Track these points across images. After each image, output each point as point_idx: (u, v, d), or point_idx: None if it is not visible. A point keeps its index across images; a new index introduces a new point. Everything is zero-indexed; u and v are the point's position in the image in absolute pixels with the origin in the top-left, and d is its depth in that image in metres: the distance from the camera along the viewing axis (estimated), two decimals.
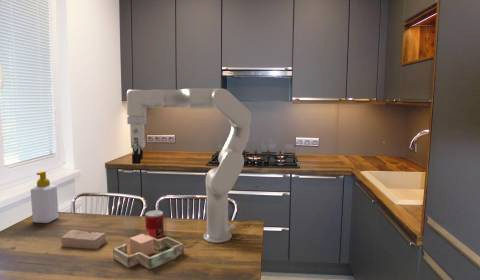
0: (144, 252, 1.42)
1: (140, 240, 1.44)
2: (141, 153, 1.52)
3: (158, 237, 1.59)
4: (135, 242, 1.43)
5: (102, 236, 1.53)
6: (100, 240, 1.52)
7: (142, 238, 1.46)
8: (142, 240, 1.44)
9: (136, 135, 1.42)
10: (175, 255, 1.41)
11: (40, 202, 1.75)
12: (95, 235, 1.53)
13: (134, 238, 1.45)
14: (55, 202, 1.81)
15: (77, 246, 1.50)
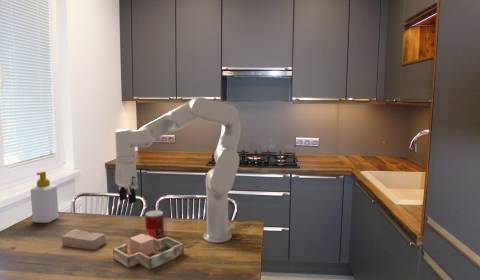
0: (144, 252, 1.42)
1: (140, 239, 1.44)
2: None
3: (158, 237, 1.59)
4: (135, 242, 1.43)
5: (101, 237, 1.53)
6: (99, 241, 1.51)
7: (142, 238, 1.46)
8: (142, 240, 1.44)
9: None
10: (175, 255, 1.41)
11: (40, 202, 1.75)
12: (94, 236, 1.52)
13: (134, 238, 1.45)
14: (55, 202, 1.81)
15: (76, 246, 1.50)
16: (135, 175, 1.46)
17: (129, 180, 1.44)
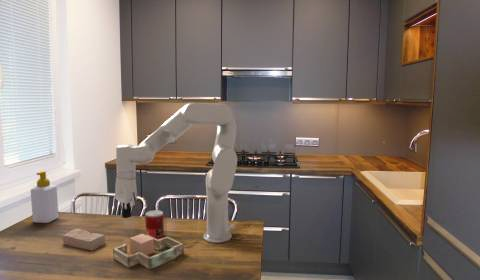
0: (144, 252, 1.42)
1: (140, 239, 1.44)
2: None
3: (158, 237, 1.59)
4: (135, 242, 1.43)
5: (100, 238, 1.52)
6: (97, 242, 1.50)
7: (142, 238, 1.46)
8: (142, 240, 1.44)
9: None
10: (175, 255, 1.41)
11: (40, 202, 1.75)
12: (93, 236, 1.52)
13: (134, 238, 1.45)
14: (55, 202, 1.81)
15: (75, 246, 1.50)
16: (135, 191, 1.47)
17: (129, 196, 1.45)
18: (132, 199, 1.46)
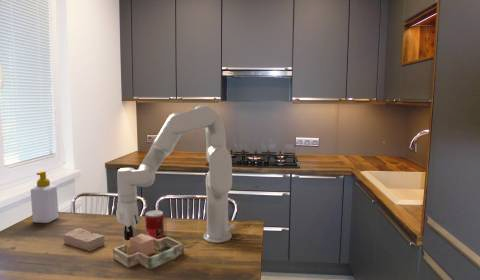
0: (144, 252, 1.42)
1: (140, 239, 1.44)
2: None
3: (158, 237, 1.59)
4: (135, 242, 1.43)
5: (99, 239, 1.51)
6: (95, 242, 1.49)
7: (142, 238, 1.46)
8: (142, 240, 1.44)
9: None
10: (175, 255, 1.41)
11: (40, 202, 1.75)
12: (92, 237, 1.51)
13: (134, 238, 1.45)
14: (55, 202, 1.81)
15: (75, 245, 1.50)
16: (137, 214, 1.48)
17: (130, 219, 1.46)
18: (134, 222, 1.47)
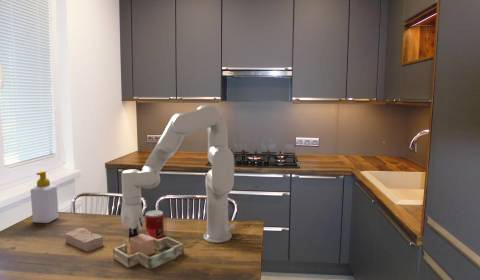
0: (144, 252, 1.42)
1: (140, 240, 1.44)
2: None
3: (158, 237, 1.59)
4: (135, 242, 1.43)
5: (97, 239, 1.50)
6: (93, 243, 1.48)
7: (143, 238, 1.45)
8: (142, 240, 1.43)
9: None
10: (175, 255, 1.41)
11: (40, 202, 1.75)
12: (91, 237, 1.51)
13: (134, 238, 1.45)
14: (55, 202, 1.81)
15: (74, 245, 1.51)
16: (141, 216, 1.46)
17: (135, 222, 1.44)
18: (138, 224, 1.45)
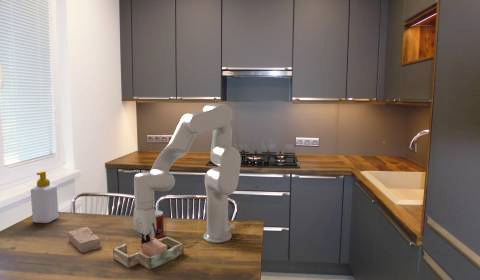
0: None
1: (153, 246, 1.37)
2: None
3: (158, 237, 1.59)
4: (148, 249, 1.37)
5: (93, 241, 1.48)
6: (89, 245, 1.47)
7: (155, 244, 1.39)
8: (155, 246, 1.37)
9: None
10: (175, 255, 1.41)
11: (40, 202, 1.75)
12: (89, 238, 1.50)
13: (147, 244, 1.39)
14: (55, 202, 1.81)
15: (74, 244, 1.51)
16: (155, 222, 1.40)
17: (148, 227, 1.38)
18: (152, 230, 1.39)
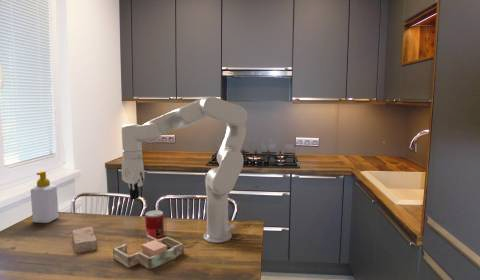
0: None
1: (153, 246, 1.37)
2: None
3: (158, 237, 1.59)
4: (148, 249, 1.37)
5: (89, 242, 1.47)
6: (84, 245, 1.46)
7: (155, 244, 1.39)
8: (155, 247, 1.37)
9: None
10: (175, 255, 1.41)
11: (40, 202, 1.75)
12: (86, 239, 1.49)
13: (147, 245, 1.39)
14: (55, 202, 1.81)
15: None
16: (142, 171, 1.43)
17: (136, 176, 1.41)
18: (140, 179, 1.43)
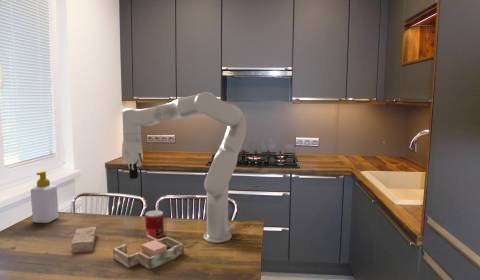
0: None
1: (153, 246, 1.37)
2: None
3: (158, 237, 1.59)
4: (148, 249, 1.37)
5: (84, 243, 1.46)
6: (79, 246, 1.46)
7: (155, 244, 1.39)
8: (154, 247, 1.37)
9: None
10: (175, 255, 1.41)
11: (40, 202, 1.75)
12: (83, 239, 1.48)
13: (146, 245, 1.39)
14: (55, 202, 1.81)
15: None
16: (141, 152, 1.54)
17: (135, 156, 1.52)
18: (138, 160, 1.53)
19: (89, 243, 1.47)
